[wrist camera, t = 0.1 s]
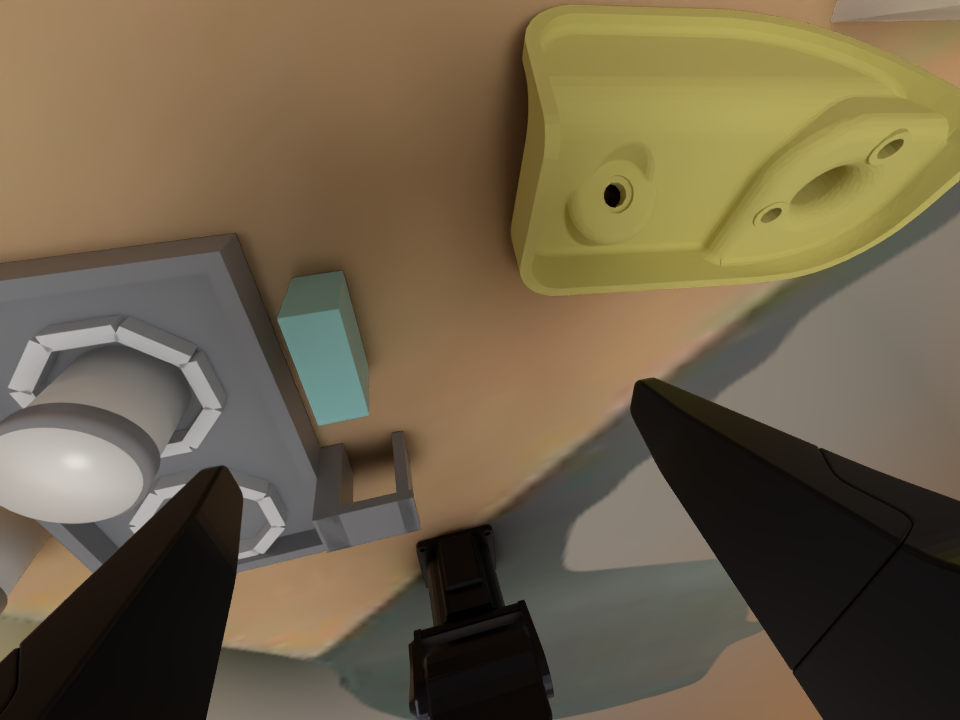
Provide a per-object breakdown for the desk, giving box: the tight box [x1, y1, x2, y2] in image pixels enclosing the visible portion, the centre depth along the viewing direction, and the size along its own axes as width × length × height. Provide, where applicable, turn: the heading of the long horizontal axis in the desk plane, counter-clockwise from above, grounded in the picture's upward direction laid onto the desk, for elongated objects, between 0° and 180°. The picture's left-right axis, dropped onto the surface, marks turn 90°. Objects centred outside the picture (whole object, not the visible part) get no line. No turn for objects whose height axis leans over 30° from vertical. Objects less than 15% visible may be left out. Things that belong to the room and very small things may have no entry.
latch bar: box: [277, 270, 369, 426], centre depth 21 cm, size 6×2×4 cm, turn 4°
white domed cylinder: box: [0, 346, 191, 524], centre depth 19 cm, size 5×5×6 cm
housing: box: [0, 233, 421, 573], centre depth 22 cm, size 21×20×6 cm
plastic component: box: [511, 5, 960, 296], centre depth 21 cm, size 20×7×10 cm
